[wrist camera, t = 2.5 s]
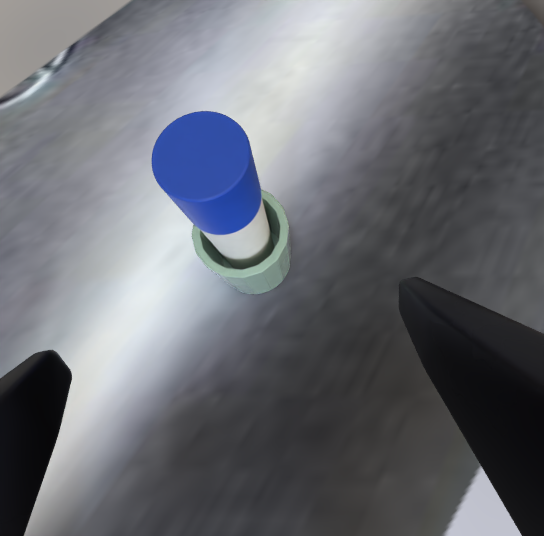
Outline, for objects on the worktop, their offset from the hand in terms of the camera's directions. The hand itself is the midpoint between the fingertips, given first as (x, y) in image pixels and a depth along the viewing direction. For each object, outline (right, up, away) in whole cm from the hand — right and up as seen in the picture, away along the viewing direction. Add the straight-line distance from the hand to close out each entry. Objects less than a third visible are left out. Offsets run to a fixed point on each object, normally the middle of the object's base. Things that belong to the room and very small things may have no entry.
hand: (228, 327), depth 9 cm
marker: (0, +2, +12) cm, 12 cm away
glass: (0, +2, +13) cm, 13 cm away
